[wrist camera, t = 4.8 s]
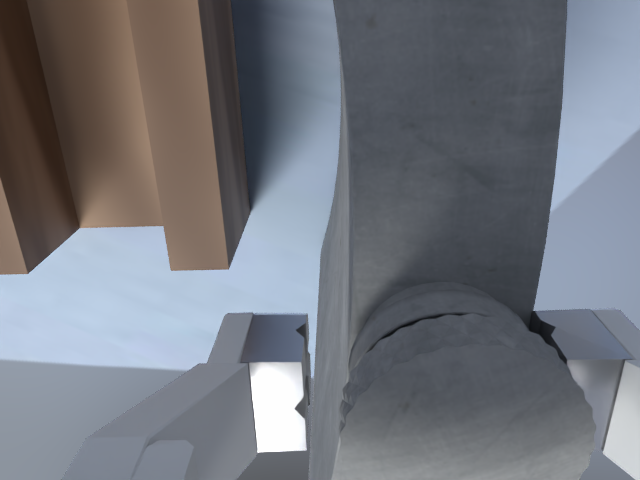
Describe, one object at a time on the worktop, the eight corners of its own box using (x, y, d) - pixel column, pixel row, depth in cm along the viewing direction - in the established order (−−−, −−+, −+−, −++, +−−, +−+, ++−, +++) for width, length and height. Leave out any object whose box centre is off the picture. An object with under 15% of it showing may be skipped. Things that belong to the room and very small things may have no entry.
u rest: (210, -223, 20) (161, -317, 15) (250, 213, 28) (228, 269, 22) (-63, -209, 21) (-221, -296, 15) (47, 218, 28) (-29, 275, 22)
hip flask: (334, -52, 22) (334, -314, 4) (429, -48, 22) (854, -292, 4) (319, 279, 29) (294, 750, 11) (394, 283, 29) (498, 761, 11)
